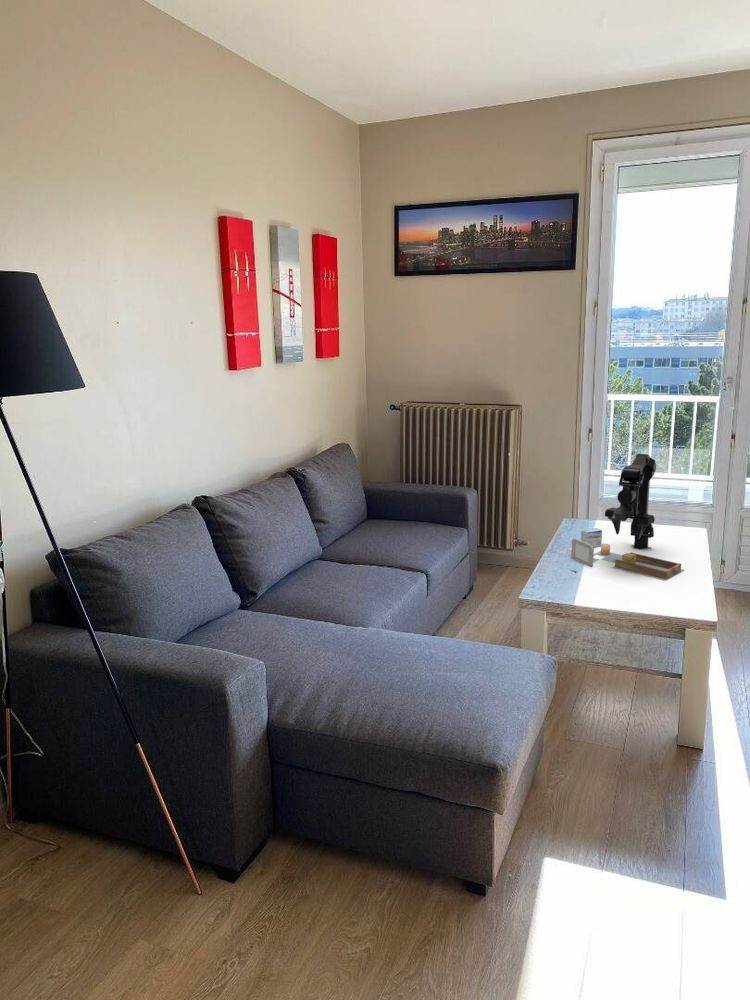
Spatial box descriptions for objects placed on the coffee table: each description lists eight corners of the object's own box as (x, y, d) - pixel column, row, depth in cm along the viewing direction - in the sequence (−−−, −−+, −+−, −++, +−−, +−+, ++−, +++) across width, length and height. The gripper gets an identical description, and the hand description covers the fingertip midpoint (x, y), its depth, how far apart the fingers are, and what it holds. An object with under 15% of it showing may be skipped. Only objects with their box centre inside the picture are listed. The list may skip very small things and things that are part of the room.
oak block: (626, 562, 307) (626, 552, 306) (635, 564, 305) (636, 554, 304) (621, 564, 305) (621, 555, 304) (630, 566, 302) (631, 557, 301)
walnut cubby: (630, 559, 311) (630, 552, 310) (680, 571, 296) (681, 564, 295) (614, 566, 302) (615, 559, 302) (665, 579, 287) (666, 572, 286)
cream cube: (571, 555, 321) (572, 546, 320) (580, 556, 319) (581, 547, 318) (568, 558, 318) (569, 549, 317) (578, 559, 316) (578, 550, 315)
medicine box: (586, 551, 325) (587, 532, 323) (580, 548, 329) (581, 529, 327) (601, 549, 328) (602, 530, 326) (595, 546, 332) (596, 527, 330)
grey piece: (555, 563, 312) (556, 540, 309) (573, 560, 315) (574, 537, 313) (575, 573, 300) (576, 549, 298) (593, 569, 304) (595, 546, 301)
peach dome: (603, 552, 320) (604, 543, 319) (611, 554, 318) (611, 544, 317) (599, 554, 318) (599, 545, 317) (606, 556, 315) (607, 546, 314)
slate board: (601, 553, 323) (602, 550, 323) (685, 572, 297) (685, 569, 297) (580, 562, 312) (580, 559, 311) (665, 584, 286) (665, 581, 286)
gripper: (598, 498, 298) (596, 536, 302) (641, 506, 284) (639, 546, 288) (613, 493, 305) (611, 530, 309) (656, 501, 292) (653, 539, 295)
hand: (627, 536), depth 300 cm, fingers open, 9 cm apart
